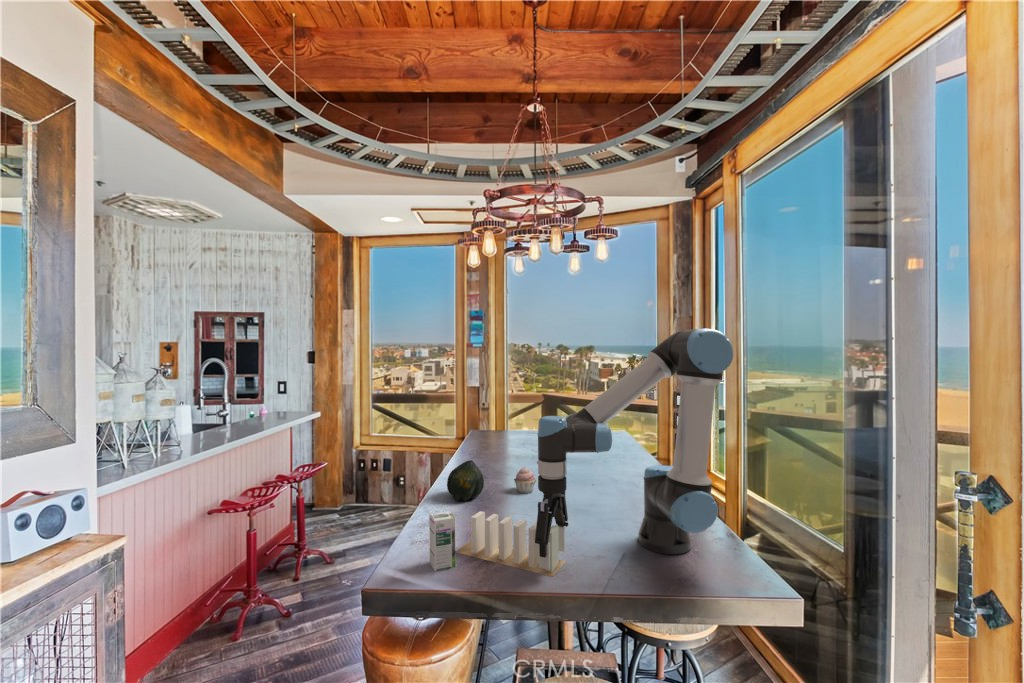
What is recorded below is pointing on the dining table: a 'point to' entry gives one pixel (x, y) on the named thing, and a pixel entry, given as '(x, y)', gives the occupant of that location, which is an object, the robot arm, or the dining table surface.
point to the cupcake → (525, 481)
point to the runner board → (508, 560)
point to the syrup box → (442, 540)
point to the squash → (465, 481)
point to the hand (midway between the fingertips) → (552, 558)
